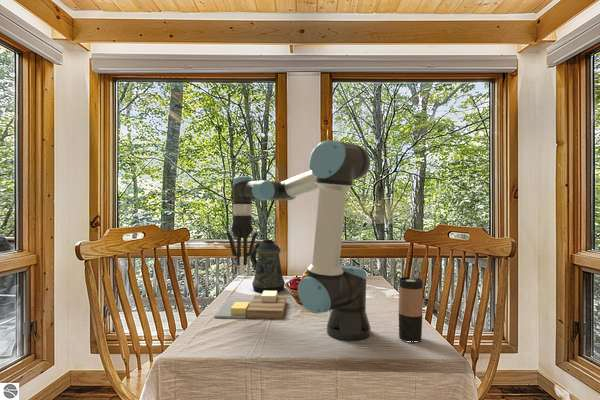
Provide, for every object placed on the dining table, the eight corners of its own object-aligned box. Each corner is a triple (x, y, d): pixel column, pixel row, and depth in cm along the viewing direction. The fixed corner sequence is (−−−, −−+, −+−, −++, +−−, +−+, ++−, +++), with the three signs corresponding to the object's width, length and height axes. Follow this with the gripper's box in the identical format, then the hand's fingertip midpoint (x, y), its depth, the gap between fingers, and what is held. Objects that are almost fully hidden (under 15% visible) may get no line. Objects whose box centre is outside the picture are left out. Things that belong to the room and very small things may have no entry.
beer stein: (281, 294, 183) (281, 242, 183) (242, 292, 186) (242, 241, 186) (287, 286, 199) (288, 239, 199) (251, 284, 202) (252, 238, 202)
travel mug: (406, 344, 121) (407, 282, 121) (394, 336, 128) (394, 277, 128) (427, 342, 123) (427, 281, 123) (413, 334, 131) (414, 276, 130)
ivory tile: (275, 302, 158) (275, 296, 158) (261, 301, 158) (261, 295, 158) (277, 296, 167) (277, 290, 167) (263, 296, 167) (263, 290, 167)
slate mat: (245, 318, 145) (245, 316, 145) (214, 318, 146) (214, 316, 146) (254, 301, 169) (254, 299, 169) (228, 301, 170) (228, 299, 170)
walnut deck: (282, 318, 146) (282, 310, 146) (246, 317, 146) (246, 310, 146) (286, 302, 168) (286, 295, 168) (255, 302, 168) (255, 295, 168)
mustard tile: (245, 314, 148) (245, 308, 148) (230, 314, 148) (230, 308, 148) (249, 308, 157) (249, 302, 157) (235, 307, 157) (235, 301, 157)
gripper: (259, 214, 155) (259, 271, 155) (228, 214, 156) (228, 271, 156) (257, 215, 148) (256, 275, 148) (224, 215, 148) (223, 275, 148)
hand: (242, 273), depth 152 cm, fingers closed
